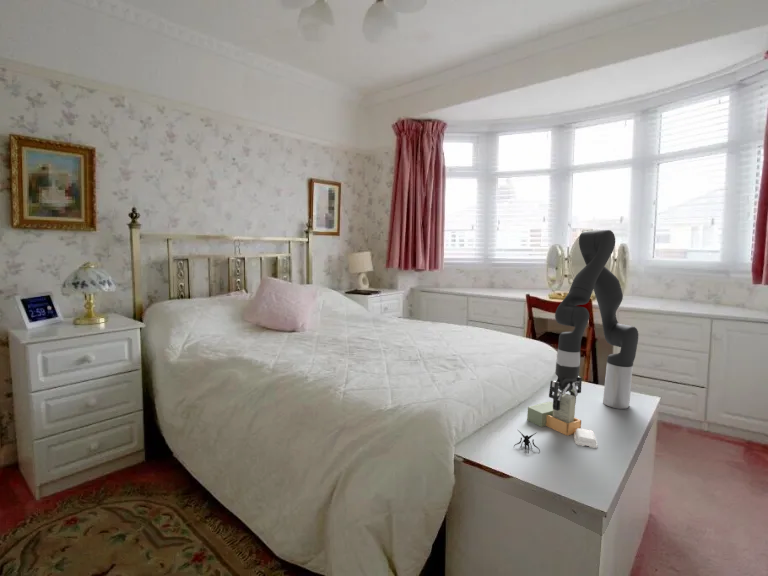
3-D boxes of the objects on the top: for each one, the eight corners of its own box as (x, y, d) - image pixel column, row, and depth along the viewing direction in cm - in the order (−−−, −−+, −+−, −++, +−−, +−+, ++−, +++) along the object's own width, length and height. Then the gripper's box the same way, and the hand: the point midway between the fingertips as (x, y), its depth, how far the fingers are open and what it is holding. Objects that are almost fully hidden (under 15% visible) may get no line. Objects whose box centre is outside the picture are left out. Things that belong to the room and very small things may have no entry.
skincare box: (573, 429, 149) (576, 396, 147) (568, 433, 146) (571, 399, 144) (556, 423, 153) (559, 391, 152) (550, 426, 150) (553, 393, 149)
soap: (598, 449, 135) (599, 441, 135) (575, 445, 138) (576, 437, 137) (594, 437, 144) (595, 429, 143) (572, 433, 146) (573, 425, 146)
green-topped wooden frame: (548, 413, 161) (549, 401, 161) (584, 429, 148) (585, 416, 148) (527, 420, 155) (528, 407, 154) (562, 437, 142) (563, 423, 142)
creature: (540, 460, 129) (538, 443, 137) (541, 445, 128) (540, 429, 135) (513, 455, 131) (513, 439, 139) (514, 441, 130) (514, 425, 137)
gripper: (571, 357, 153) (567, 400, 155) (545, 362, 146) (541, 407, 148) (590, 363, 147) (586, 407, 149) (564, 368, 140) (560, 415, 142)
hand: (564, 407), depth 148 cm, fingers open, 8 cm apart
